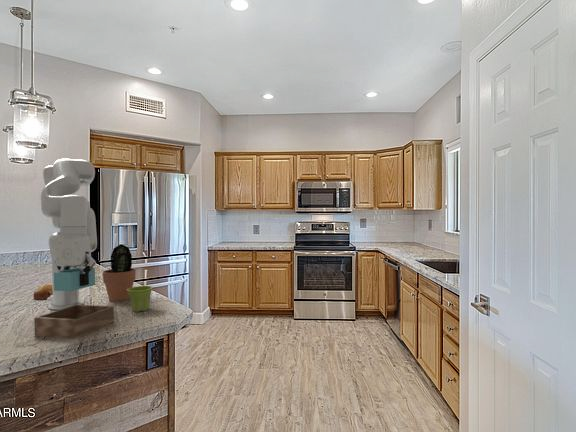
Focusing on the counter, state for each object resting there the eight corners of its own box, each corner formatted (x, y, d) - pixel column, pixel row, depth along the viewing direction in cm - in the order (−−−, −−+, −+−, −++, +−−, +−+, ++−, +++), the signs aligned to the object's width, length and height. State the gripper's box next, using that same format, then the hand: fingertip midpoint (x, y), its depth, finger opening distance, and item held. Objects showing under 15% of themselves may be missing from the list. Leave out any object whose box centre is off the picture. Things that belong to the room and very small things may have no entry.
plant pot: (143, 313, 131) (143, 291, 131) (122, 312, 133) (121, 290, 133) (157, 307, 140) (157, 286, 140) (137, 306, 142) (137, 285, 142)
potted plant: (95, 301, 151) (94, 245, 151) (120, 294, 164) (119, 242, 164) (119, 304, 146) (118, 245, 146) (143, 296, 159) (141, 243, 159)
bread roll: (56, 301, 168) (53, 286, 170) (64, 295, 162) (60, 279, 164) (32, 306, 160) (29, 290, 162) (39, 299, 154) (36, 283, 156)
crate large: (34, 336, 109) (34, 317, 109) (76, 320, 124) (76, 304, 124) (76, 339, 105) (75, 320, 105) (113, 323, 121) (113, 306, 121)
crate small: (54, 290, 111) (53, 272, 111) (79, 284, 120) (78, 267, 120) (70, 291, 109) (70, 272, 109) (95, 285, 119) (94, 267, 119)
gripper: (42, 232, 113) (44, 286, 113) (86, 232, 109) (88, 288, 109) (62, 231, 120) (63, 282, 120) (104, 231, 116) (105, 283, 116)
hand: (75, 284), depth 115 cm, fingers closed on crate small, 6 cm apart
